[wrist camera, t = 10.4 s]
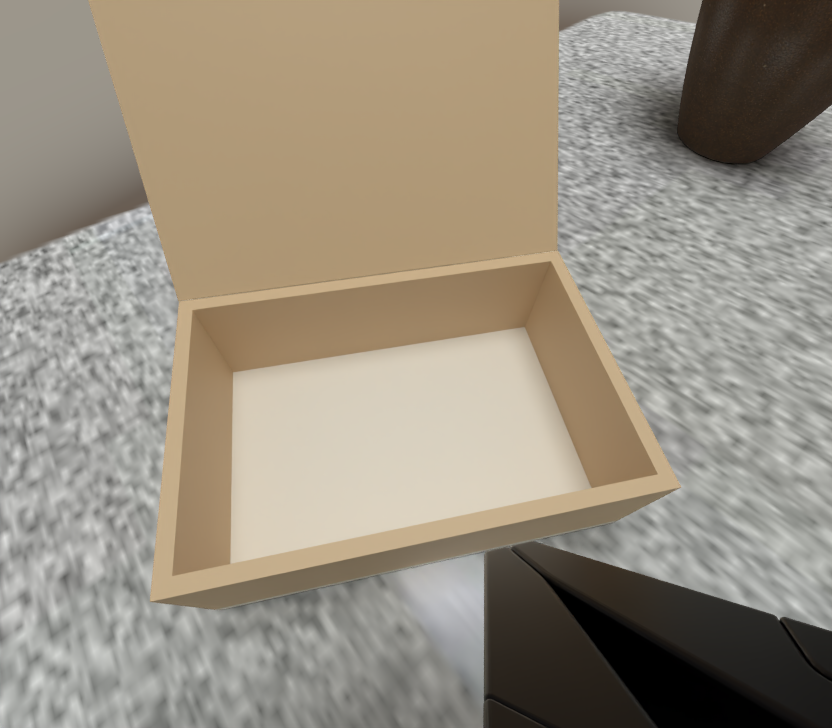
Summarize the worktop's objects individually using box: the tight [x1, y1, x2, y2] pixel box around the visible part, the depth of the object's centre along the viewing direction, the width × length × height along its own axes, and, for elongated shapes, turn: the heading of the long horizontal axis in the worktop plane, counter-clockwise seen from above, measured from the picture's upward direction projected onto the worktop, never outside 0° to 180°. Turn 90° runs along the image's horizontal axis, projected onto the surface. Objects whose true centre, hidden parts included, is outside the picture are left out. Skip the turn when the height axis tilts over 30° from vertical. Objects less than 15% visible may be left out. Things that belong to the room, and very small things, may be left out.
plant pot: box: [677, 0, 832, 164], centre depth 31 cm, size 15×15×16 cm
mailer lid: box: [88, 0, 559, 301], centre depth 19 cm, size 12×18×1 cm
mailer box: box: [150, 251, 681, 610], centre depth 20 cm, size 12×18×6 cm, turn 102°
